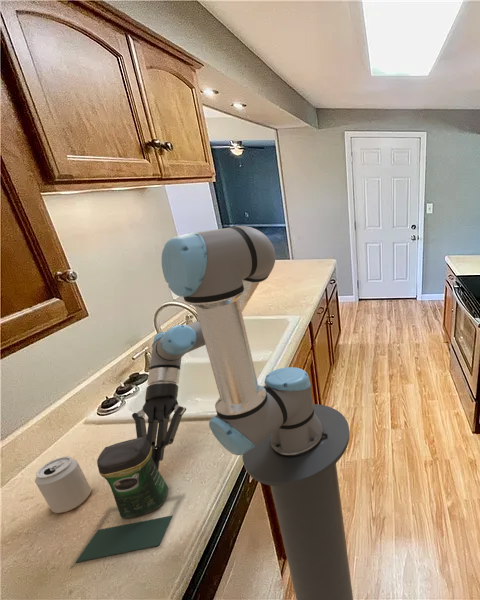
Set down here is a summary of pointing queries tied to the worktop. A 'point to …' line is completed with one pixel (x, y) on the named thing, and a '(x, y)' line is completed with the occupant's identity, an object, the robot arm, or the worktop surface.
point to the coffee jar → (133, 477)
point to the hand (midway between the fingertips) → (151, 475)
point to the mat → (125, 538)
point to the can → (62, 484)
